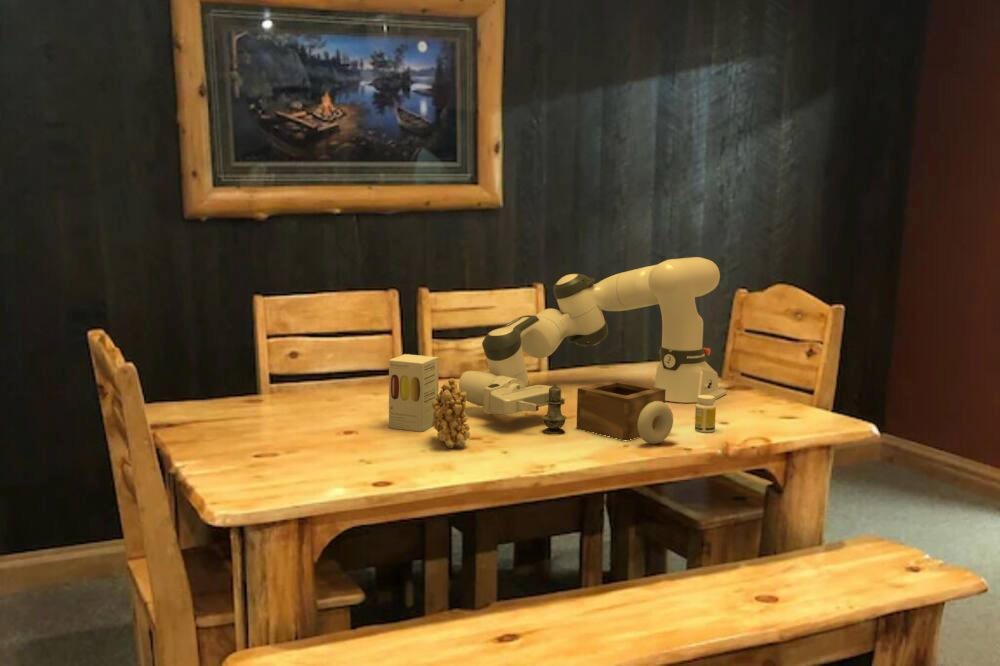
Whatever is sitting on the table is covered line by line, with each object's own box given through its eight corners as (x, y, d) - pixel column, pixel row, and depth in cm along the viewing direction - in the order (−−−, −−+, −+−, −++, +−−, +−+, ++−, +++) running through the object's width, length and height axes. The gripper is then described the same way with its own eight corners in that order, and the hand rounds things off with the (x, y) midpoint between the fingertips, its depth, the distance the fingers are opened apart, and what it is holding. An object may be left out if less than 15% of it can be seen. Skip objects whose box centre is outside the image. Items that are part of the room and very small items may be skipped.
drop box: (614, 418, 233) (616, 379, 232) (663, 429, 223) (665, 389, 221) (576, 428, 223) (577, 388, 221) (626, 441, 212) (627, 399, 211)
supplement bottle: (715, 428, 224) (717, 395, 223) (713, 433, 220) (715, 399, 219) (695, 427, 226) (697, 393, 225) (693, 431, 222) (694, 397, 220)
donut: (643, 448, 207) (645, 405, 205) (633, 445, 209) (634, 402, 208) (675, 442, 212) (677, 400, 211) (664, 438, 215) (666, 397, 213)
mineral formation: (440, 452, 202) (440, 386, 199) (422, 437, 214) (422, 374, 212) (474, 449, 205) (475, 383, 202) (455, 434, 217) (455, 371, 215)
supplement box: (387, 428, 221) (386, 359, 219) (404, 419, 230) (404, 353, 227) (423, 432, 218) (423, 362, 215) (439, 423, 227) (439, 356, 224)
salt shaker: (564, 435, 217) (565, 386, 215) (539, 434, 218) (540, 384, 216) (567, 429, 222) (568, 380, 220) (543, 427, 223) (544, 379, 221)
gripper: (536, 400, 237) (577, 410, 227) (479, 414, 223) (520, 424, 213) (537, 376, 236) (578, 385, 226) (479, 388, 222) (521, 398, 212)
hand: (550, 404), depth 220 cm, fingers open, 8 cm apart
